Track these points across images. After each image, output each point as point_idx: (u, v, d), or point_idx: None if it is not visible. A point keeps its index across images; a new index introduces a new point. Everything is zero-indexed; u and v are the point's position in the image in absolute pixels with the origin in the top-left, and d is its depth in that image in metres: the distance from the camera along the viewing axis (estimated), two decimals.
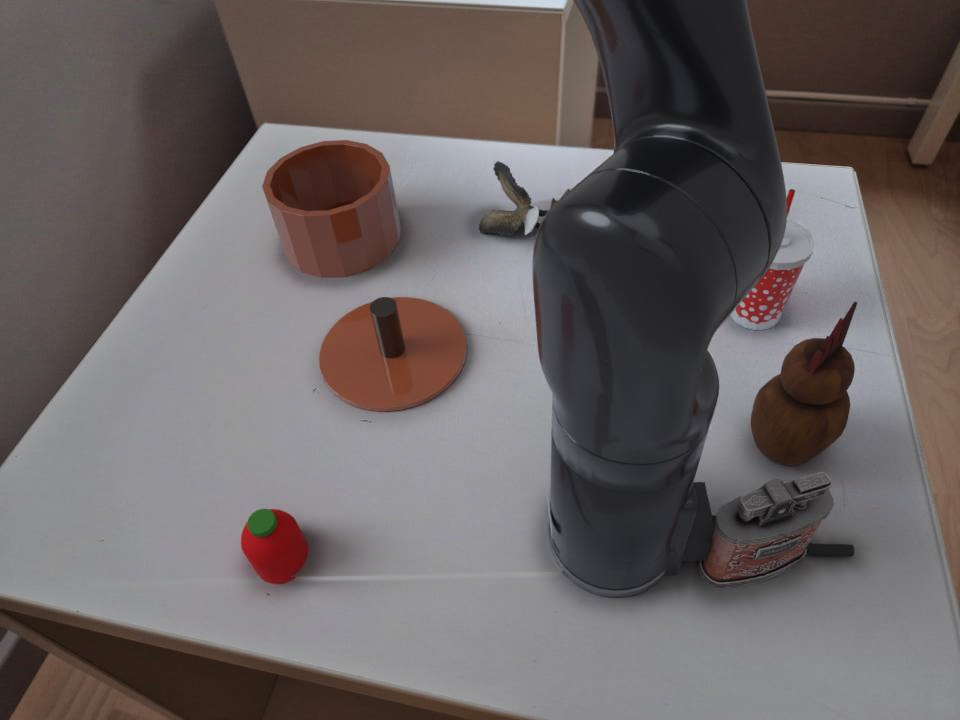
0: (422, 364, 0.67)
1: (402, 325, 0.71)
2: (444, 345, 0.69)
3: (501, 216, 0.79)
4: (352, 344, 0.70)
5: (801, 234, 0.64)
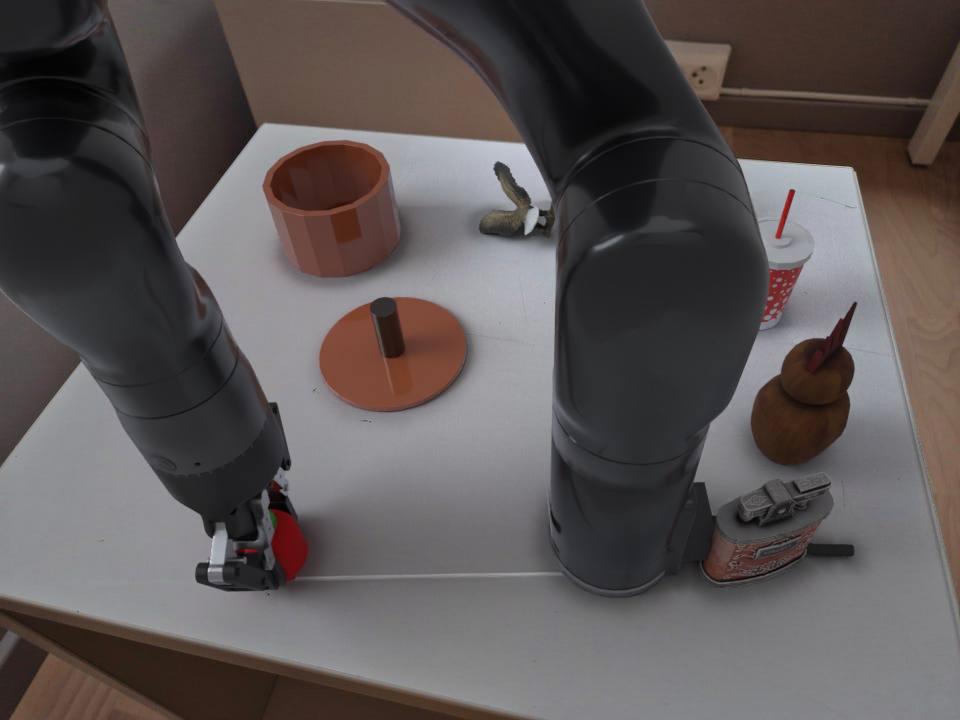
0: (422, 364, 0.67)
1: (402, 325, 0.71)
2: (444, 345, 0.69)
3: (501, 216, 0.79)
4: (352, 344, 0.70)
5: (801, 234, 0.64)
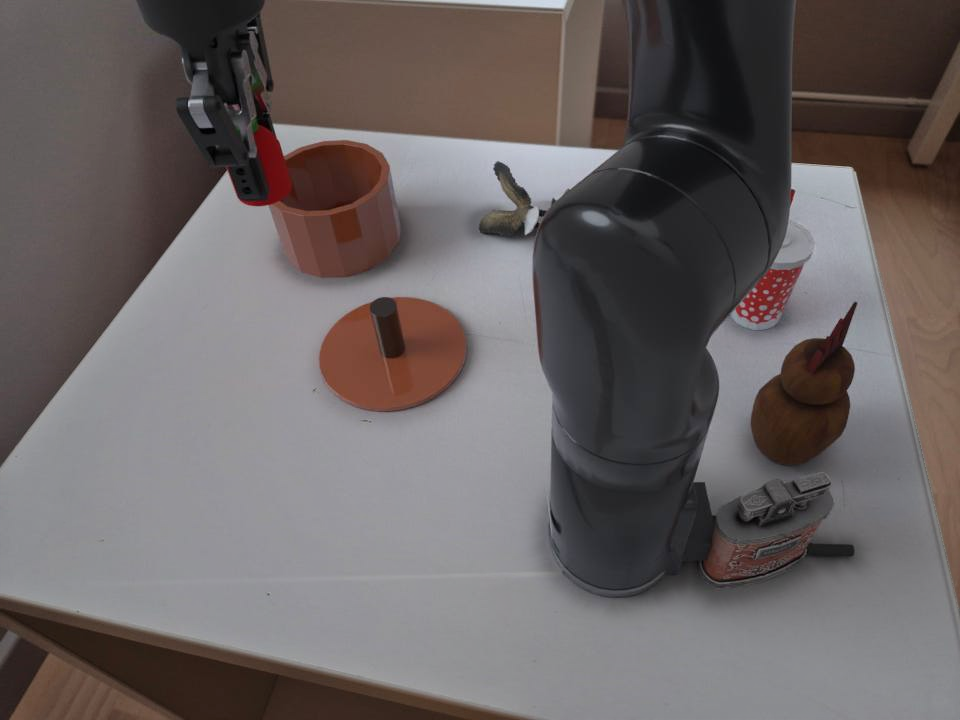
0: (422, 364, 0.67)
1: (402, 325, 0.71)
2: (444, 345, 0.69)
3: (501, 216, 0.79)
4: (352, 344, 0.70)
5: (801, 234, 0.64)
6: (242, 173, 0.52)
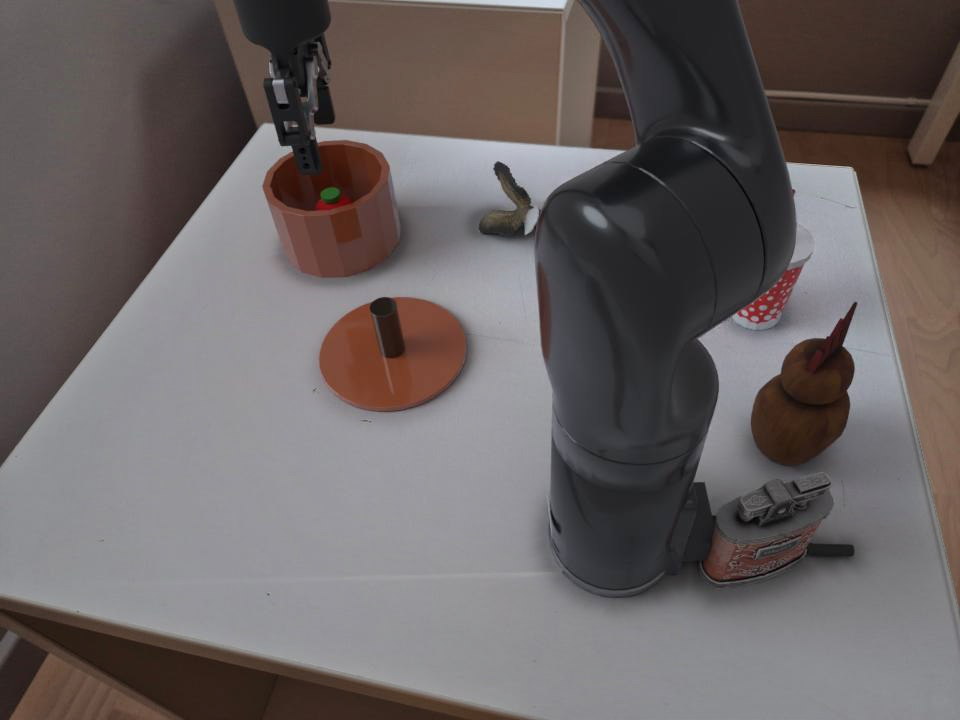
0: (422, 364, 0.67)
1: (402, 325, 0.71)
2: (444, 345, 0.69)
3: (501, 216, 0.79)
4: (352, 344, 0.70)
5: (801, 234, 0.64)
6: (303, 152, 0.67)
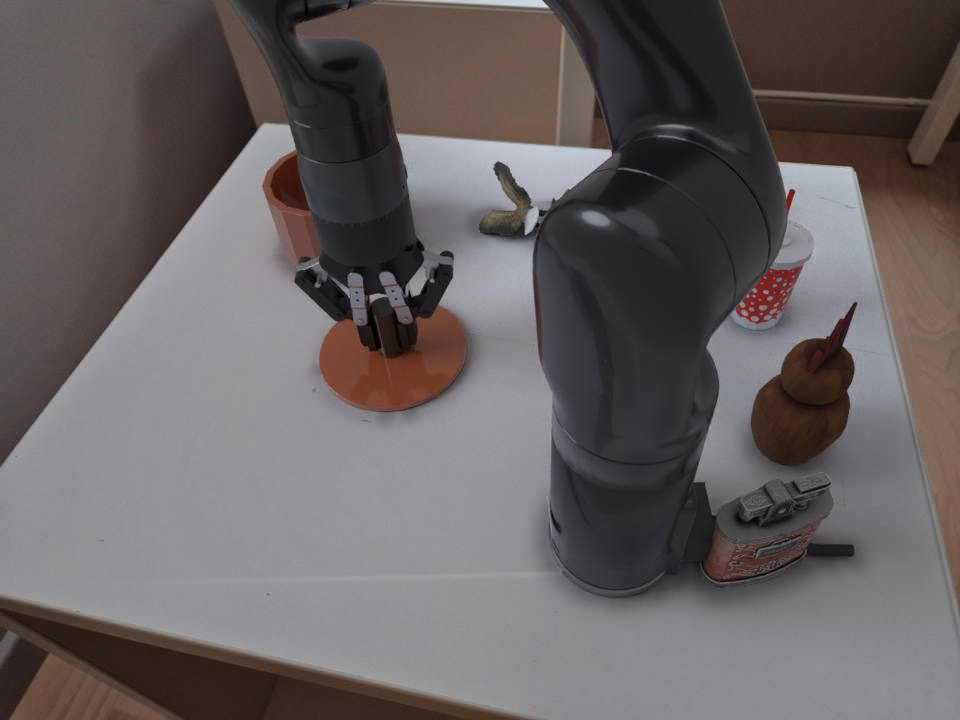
0: (422, 364, 0.67)
1: None
2: (444, 345, 0.69)
3: (501, 216, 0.79)
4: (352, 344, 0.70)
5: (801, 234, 0.64)
6: None
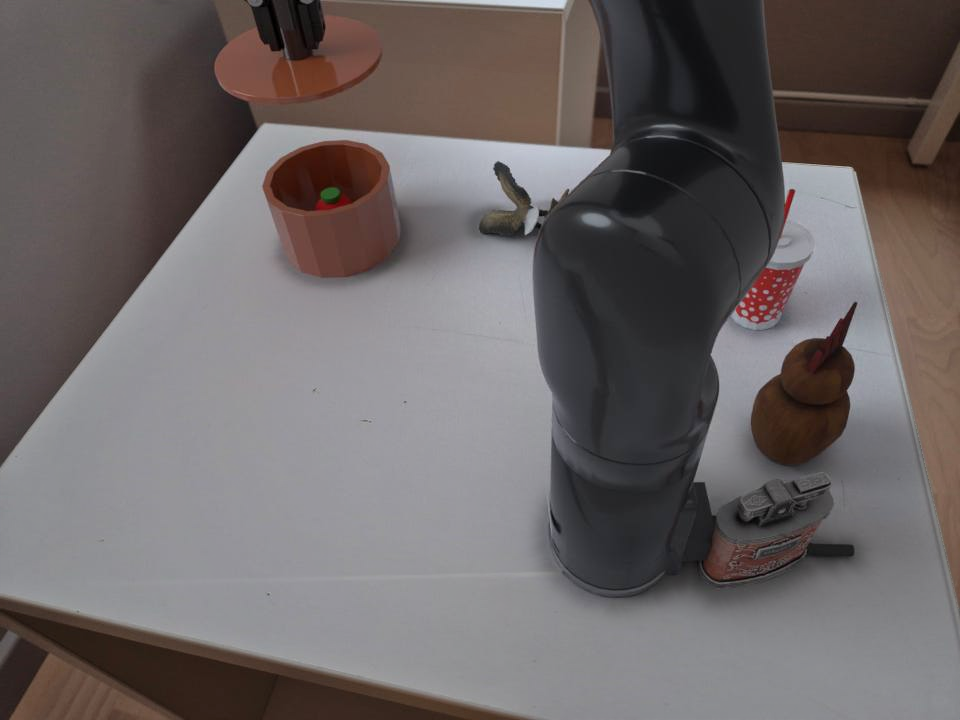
0: (330, 64, 0.60)
1: None
2: (357, 49, 0.61)
3: (501, 216, 0.79)
4: (254, 51, 0.62)
5: (801, 234, 0.64)
6: None
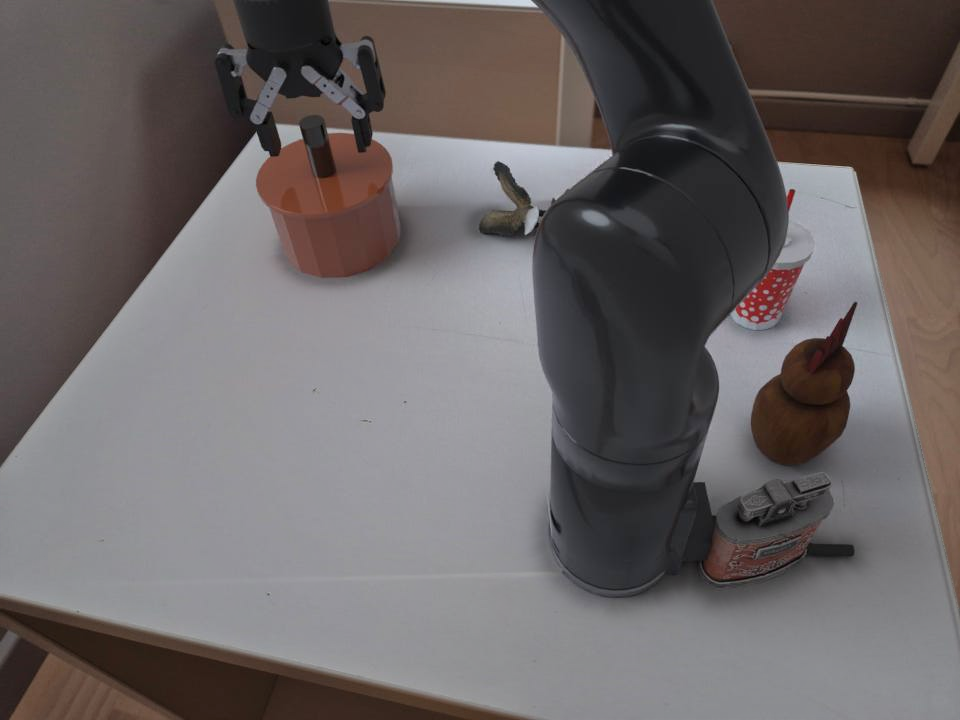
0: (350, 182, 0.73)
1: (335, 153, 0.76)
2: (372, 167, 0.74)
3: (501, 216, 0.79)
4: (287, 168, 0.75)
5: (801, 234, 0.64)
6: None
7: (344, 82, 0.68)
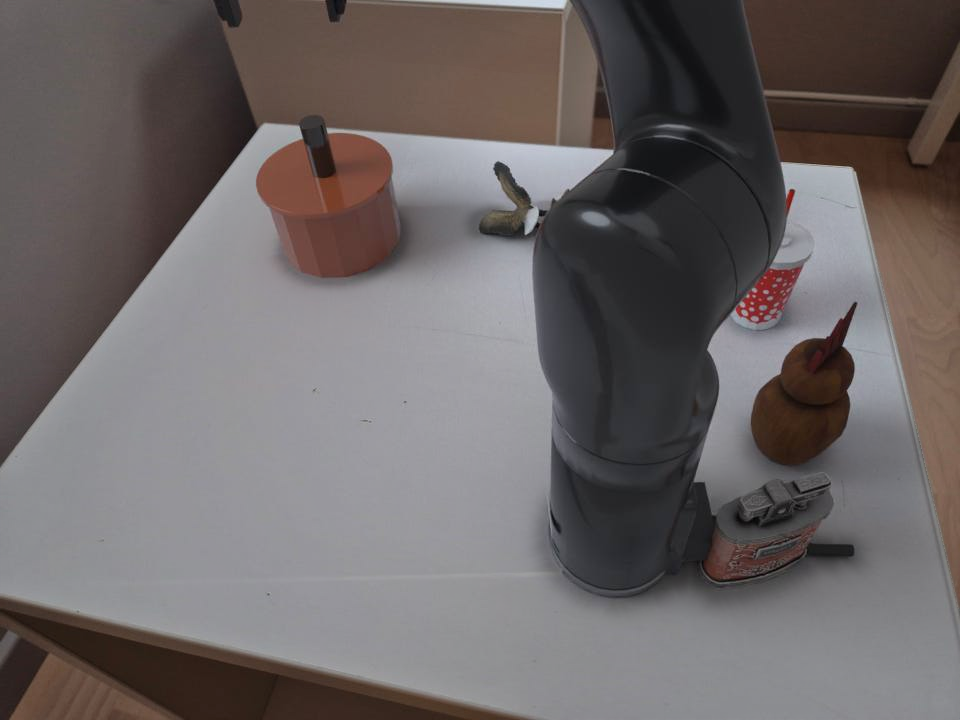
0: (350, 182, 0.73)
1: (335, 153, 0.76)
2: (372, 167, 0.74)
3: (501, 216, 0.79)
4: (287, 168, 0.75)
5: (801, 234, 0.64)
6: None
7: None
